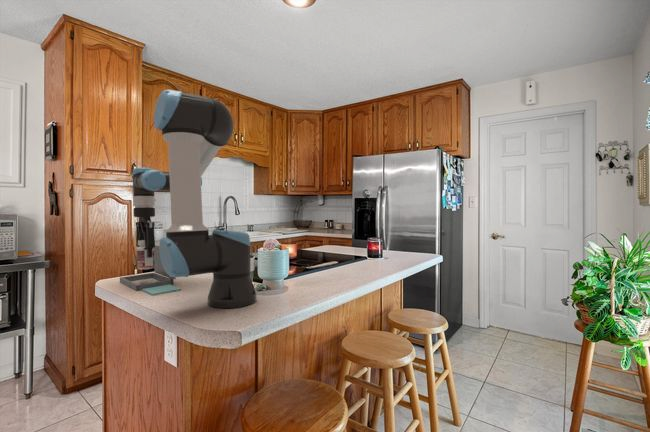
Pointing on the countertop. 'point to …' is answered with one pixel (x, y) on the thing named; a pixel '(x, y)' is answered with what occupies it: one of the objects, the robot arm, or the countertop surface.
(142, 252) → the pill bottle
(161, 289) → the pad
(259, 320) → the countertop surface
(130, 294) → the countertop surface
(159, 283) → the case
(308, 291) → the countertop surface
